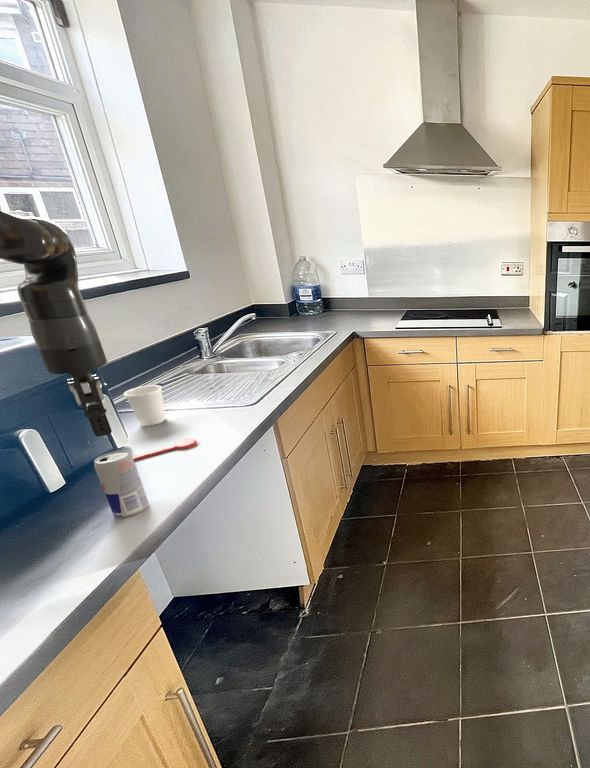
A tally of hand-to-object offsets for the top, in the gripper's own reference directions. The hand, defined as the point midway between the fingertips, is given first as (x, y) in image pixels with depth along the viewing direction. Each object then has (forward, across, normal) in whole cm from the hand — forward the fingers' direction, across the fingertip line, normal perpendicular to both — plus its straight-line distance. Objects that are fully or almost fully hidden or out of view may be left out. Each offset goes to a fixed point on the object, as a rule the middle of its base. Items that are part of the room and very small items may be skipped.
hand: (101, 427), depth 76 cm
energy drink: (+18, 0, 0) cm, 18 cm away
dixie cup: (+18, -49, +10) cm, 54 cm away
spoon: (+18, -25, +8) cm, 32 cm away
